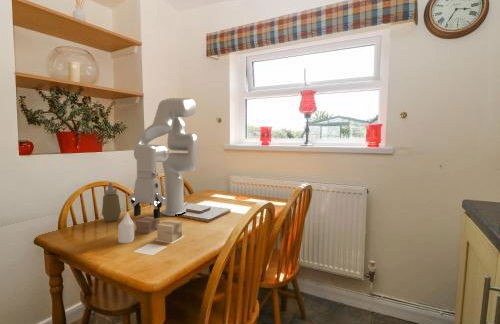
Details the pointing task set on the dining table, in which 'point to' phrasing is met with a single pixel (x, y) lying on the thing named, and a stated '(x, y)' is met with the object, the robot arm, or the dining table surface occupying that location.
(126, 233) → the white bottle
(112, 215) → the squeeze bottle
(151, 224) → the walnut block
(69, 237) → the dining table surface
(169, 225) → the oak block
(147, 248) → the build board
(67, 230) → the dining table surface
